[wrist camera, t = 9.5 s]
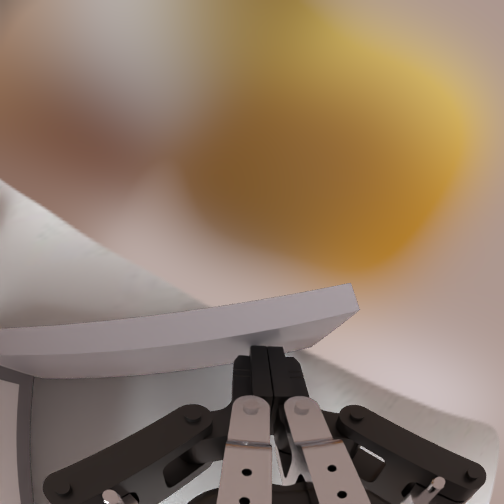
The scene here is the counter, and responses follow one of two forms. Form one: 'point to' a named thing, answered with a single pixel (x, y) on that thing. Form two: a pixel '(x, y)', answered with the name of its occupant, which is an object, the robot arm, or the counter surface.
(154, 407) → the counter surface
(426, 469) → the robot arm
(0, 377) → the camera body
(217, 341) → the side door
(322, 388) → the counter surface
